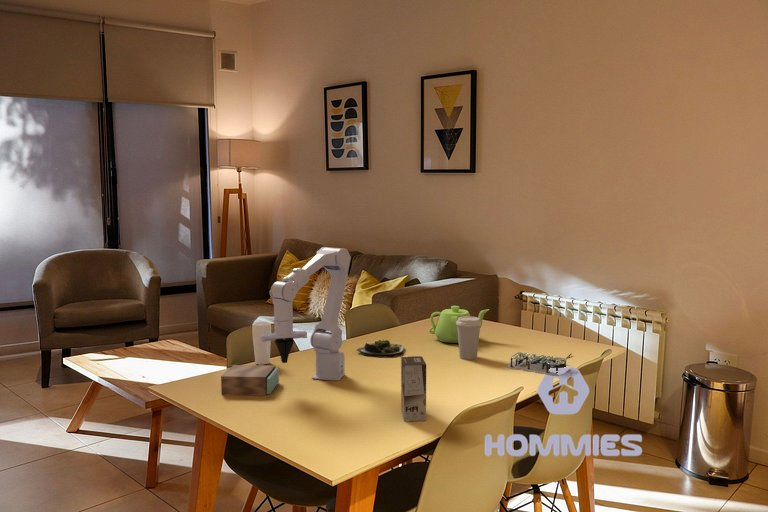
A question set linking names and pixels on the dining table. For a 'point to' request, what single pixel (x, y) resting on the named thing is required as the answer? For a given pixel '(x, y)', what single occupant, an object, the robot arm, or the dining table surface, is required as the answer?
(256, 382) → the cabinet
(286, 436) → the dining table surface
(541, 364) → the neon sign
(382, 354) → the salad plate
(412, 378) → the coffee box
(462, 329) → the coffee cup
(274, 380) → the tray
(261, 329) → the white tall block
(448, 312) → the teapot
